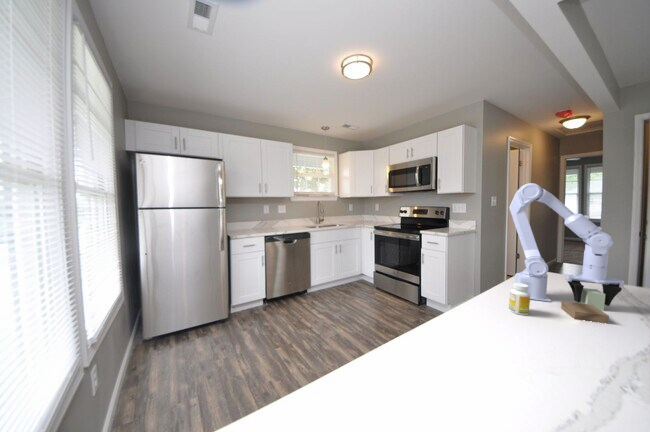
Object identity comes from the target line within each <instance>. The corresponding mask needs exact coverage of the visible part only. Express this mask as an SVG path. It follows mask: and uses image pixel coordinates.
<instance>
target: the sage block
mask: <svg viewBox="0 0 650 432" xmlns="http://www.w3.org/2000/svg"><path fill="white" fill-rule="evenodd" d="M580 303H581V304H590V305H593V306H595V307H596V308H598V309H599V310H601V311H602V312H604V311H605V304H604V303H605V294H604V293H603V291H600V290H598V289H595V288H588V287H587V288H585V287H583V290H582V293H581V302H580Z"/></svg>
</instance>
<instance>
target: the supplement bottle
mask: <svg viewBox="0 0 650 432" xmlns="http://www.w3.org/2000/svg"><path fill="white" fill-rule="evenodd" d="M512 287H513V288H510V290H509V303H508V310H509V311H510V312H511V313H513V314H515V315H518V316H519V315H520V316H528V315H529V313H530V306H531V305H530V304H531V299H530V293H529V292H528V291H527V290H528V285H526V284H523V283H514V282H513V283H512Z"/></svg>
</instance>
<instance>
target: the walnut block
mask: <svg viewBox="0 0 650 432" xmlns="http://www.w3.org/2000/svg"><path fill="white" fill-rule="evenodd" d="M560 308H561V310H562V311H564V313H566V314H567V315H569V316H570V318H572V319H573V318H574V319H573V320H575V321H576V320H577V321H583V320H585V322H590V321H592V322H591V323H598V322H599V324H605V323H606V325H609V319H610V315H608V314H607V313H605V312H604V311H601V310H599V309H598V308H596V307H595V306H593V305H590V304H581V303H579V302H573V301H566V300H565V301H563V300H562V301H561V306H560Z"/></svg>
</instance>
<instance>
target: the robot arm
mask: <svg viewBox="0 0 650 432" xmlns="http://www.w3.org/2000/svg"><path fill="white" fill-rule="evenodd" d="M534 201H536V202H539V203H543V204H545V205H546V206H548V207H549V208H550V209H552V211H554V212H556V213H557V214H558V215H559V216H560V217H562V218H563V219H564V225H565V226H566V227H567V228H569V230H571V231H572V232H573V233H574V234H575V235H576V236H577V237H579V238H581V239H582V241H583V243H585V245H584V247H585V248H584V251H583V261H582V271H581V274H565V278H564V279H565V281H567V283H568V285H569V287H570V289H571V292H572V294H573V299H574V302H575V303H580V302H581V293H582V290H583V288H585V285H583V284H582V283H589V284H597V285H598V284H599V285H602V293H604V294H605V303H604V306H606V307H610V305H611V303H612V301H614V299H615V297H616V296H617V295H618V294H619V293H620V292H622V290H623V289H622V287H624V286H625V280H623V279H621V278H620V279H619V278H614V277H613V278H611V277H607V275H608V267H609V266H608V265H609V264H608V263H609V257H610V256H609V252H610V248H611V247H612V246H613V245H614V241H613V237H611V235H609V234H608V233H606V232H604V231H602V230H603V228H602V227H601V226H598V225H596V224H595V223H593V222H592V221H591V220H590V217H589V216H588V215H586V214H585V215H584V214H582V213H574V212H573V211H572V210H570V208H568V207H567V206H566V205H565V204H564V203H562V202H561V200H559V199H558V198H557V197H556V196H555V195H554V194H553V193H551V192H549V191H547V189H544V188H542V187H541V185H538V184H537V183H533V182H529V183H526V184H524V185H522V186H520V187H519V188H518V189H517V190H516V192H515V193H514V196H513V198H512V200H511V203H510V204H509V207H508V208H509V212H510V214H511V217H512V221H513V223H514V226H515V229H516V232H517V234H518V238H519V242H520V245H521V247H522V251H523V253H524V256H525V259H524V265H525V269H523V271H522V272H516V273H515V275H514V282H513V283H523V284H526V285H528V290H527V291H528V292H529V293H530V300H535V301H541V302H543V301H544V302H550V303H551V302H552V299H550V298H549V297H547V290H548V277H549V275H548V272H549V266H548V264H547V263H546V261H545V259H544V258H543V257H542V255H541V252H540V251H539V248H538V244H537V242H536V239H535V236H534V233H533V230H532V227H531V225H530V221H529V218H528V215H527V213H526V209H527V208H528V206H529V205H531V203H532V202H534Z"/></svg>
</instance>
